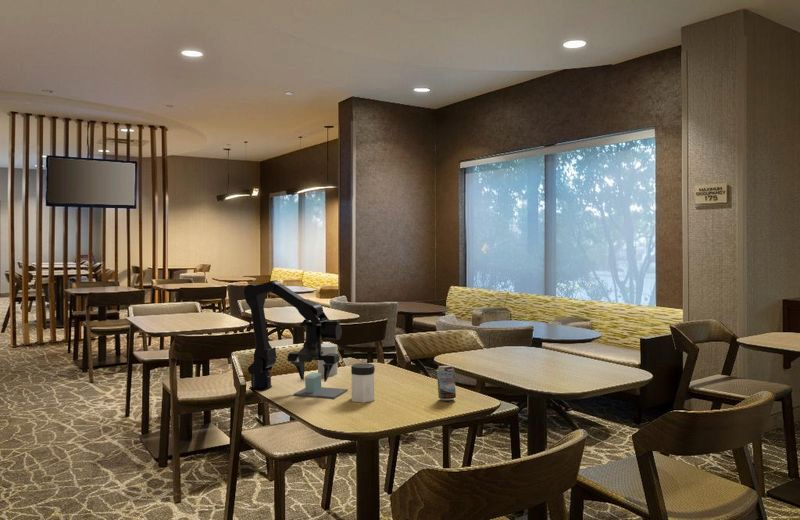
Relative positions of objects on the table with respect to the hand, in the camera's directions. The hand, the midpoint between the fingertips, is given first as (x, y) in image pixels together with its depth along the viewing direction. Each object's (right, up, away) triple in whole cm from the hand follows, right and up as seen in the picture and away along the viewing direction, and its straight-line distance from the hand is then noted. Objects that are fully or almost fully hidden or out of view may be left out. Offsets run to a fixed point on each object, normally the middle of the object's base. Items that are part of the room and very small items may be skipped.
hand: (313, 380), depth 222 cm
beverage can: (+48, -5, -11) cm, 49 cm away
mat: (+3, -4, -1) cm, 5 cm away
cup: (+1, -4, +31) cm, 31 cm away
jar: (+19, -5, -10) cm, 22 cm away
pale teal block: (0, -4, 0) cm, 4 cm away
